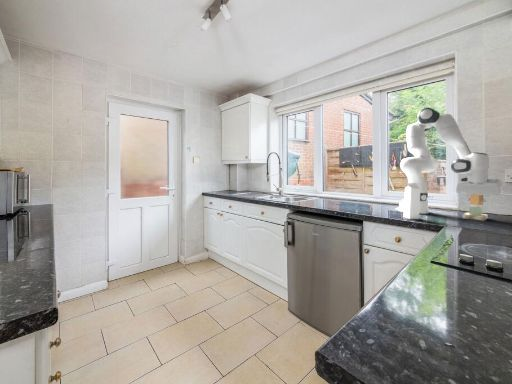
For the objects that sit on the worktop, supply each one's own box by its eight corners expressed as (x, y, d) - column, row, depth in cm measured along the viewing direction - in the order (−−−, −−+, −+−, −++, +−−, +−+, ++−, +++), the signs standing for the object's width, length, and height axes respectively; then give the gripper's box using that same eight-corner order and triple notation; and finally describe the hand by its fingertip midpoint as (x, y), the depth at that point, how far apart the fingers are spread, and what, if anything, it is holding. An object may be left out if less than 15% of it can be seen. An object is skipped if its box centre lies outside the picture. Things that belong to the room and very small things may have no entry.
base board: (462, 218, 154) (462, 214, 154) (466, 216, 161) (466, 212, 160) (484, 220, 147) (484, 216, 146) (487, 218, 153) (487, 214, 153)
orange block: (469, 204, 154) (470, 194, 154) (474, 203, 156) (475, 194, 155) (478, 205, 150) (478, 195, 150) (482, 204, 151) (483, 195, 151)
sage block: (469, 214, 154) (469, 206, 153) (471, 213, 157) (471, 205, 156) (480, 215, 150) (480, 207, 149) (481, 214, 153) (482, 206, 153)
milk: (403, 217, 157) (404, 182, 155) (412, 217, 158) (413, 182, 156) (409, 219, 151) (411, 183, 149) (419, 219, 152) (420, 183, 150)
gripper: (502, 179, 146) (500, 202, 147) (458, 178, 161) (457, 199, 162) (500, 179, 142) (499, 203, 143) (456, 178, 157) (454, 200, 158)
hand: (476, 201), depth 153 cm, fingers closed on orange block, 5 cm apart
